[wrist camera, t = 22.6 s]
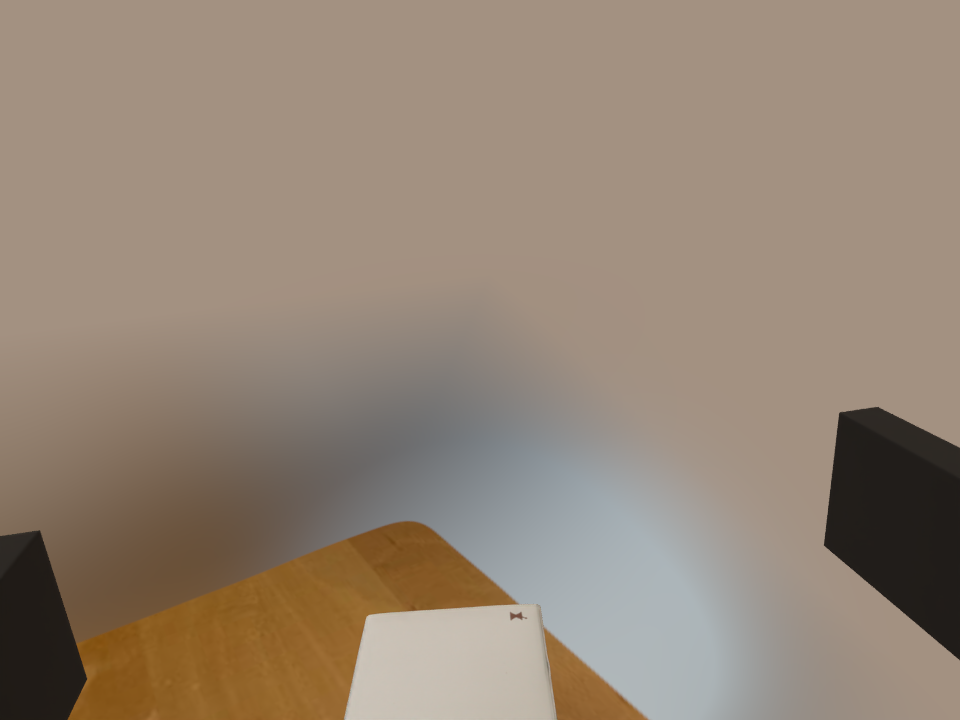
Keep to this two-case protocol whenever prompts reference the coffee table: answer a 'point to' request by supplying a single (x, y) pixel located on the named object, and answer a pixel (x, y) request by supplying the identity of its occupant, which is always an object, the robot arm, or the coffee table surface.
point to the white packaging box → (453, 666)
